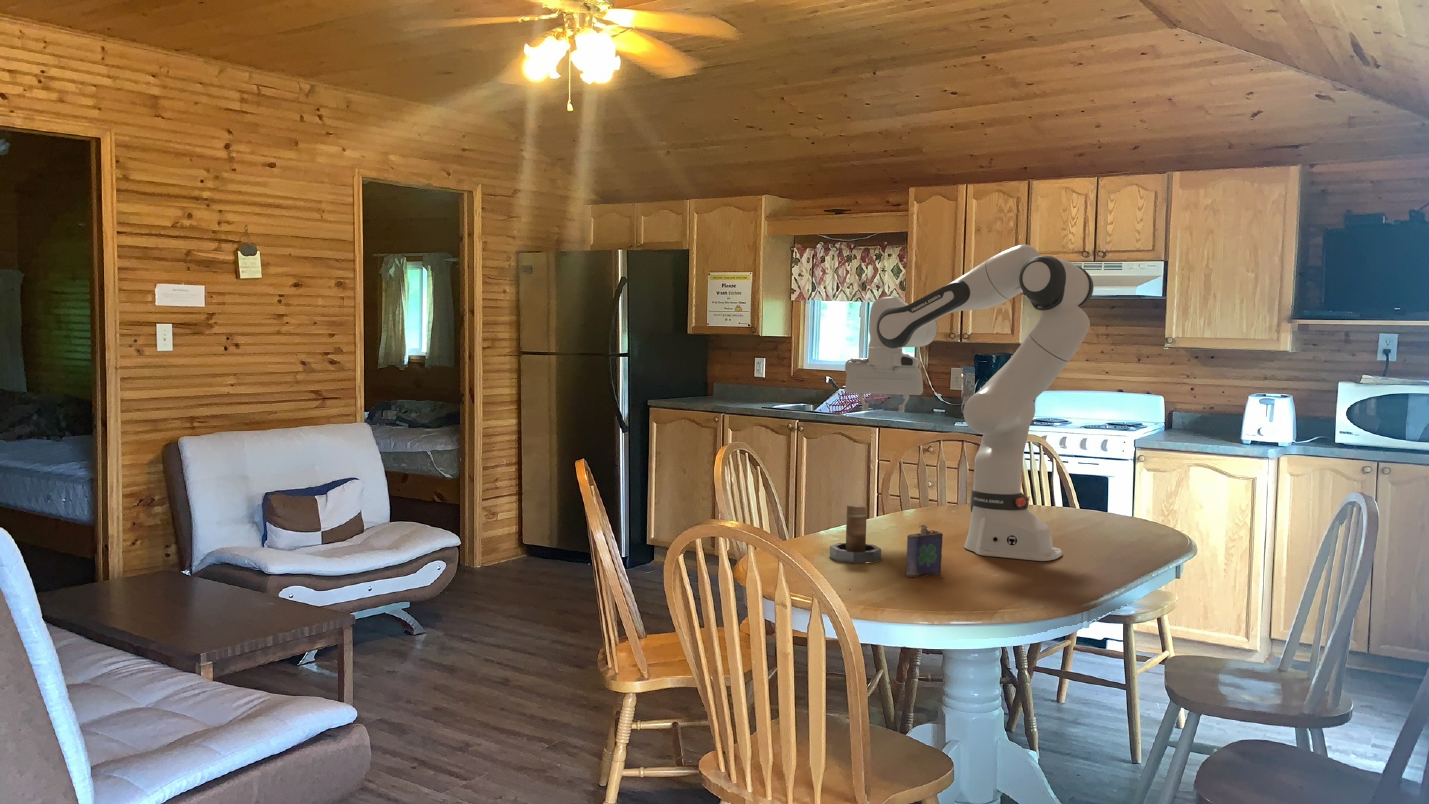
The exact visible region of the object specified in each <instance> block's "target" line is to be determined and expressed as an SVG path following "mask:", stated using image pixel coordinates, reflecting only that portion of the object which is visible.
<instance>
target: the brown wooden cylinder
mask: <svg viewBox="0 0 1429 804" xmlns="http://www.w3.org/2000/svg"><path fill="white" fill-rule="evenodd" d="M867 511H868V507H867V506H866V505H863V504H847V505H846V521H845V523H846V524H845V525H846V527H845V543H846V550H849V551H865V547H866V544H867V543H866V541H867V516H868V513H867Z"/></svg>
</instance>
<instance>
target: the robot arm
mask: <svg viewBox="0 0 1429 804" xmlns="http://www.w3.org/2000/svg"><path fill="white" fill-rule="evenodd" d="M1094 287H1095V286H1094V281H1093V278H1092V277H1091V275H1090V274H1089V273H1088V272H1087V270H1085V268H1082V267H1080V266H1079V265H1076V264H1074V263H1072V262H1070V261H1069V260H1066V259H1062V258H1058V257H1054V256H1051V255H1042V254H1040V252H1039V251H1038V250H1037V249H1036V248H1034V247H1033V246H1032V245H1029V244H1018V245H1015V246H1014V247H1010V248H1008V249H1005V250H1003V251H1001V252H1000V253H998V254H995V255H993V256H991V257H990V258H988V259H986V260H984V261H983V262H981V263H980V264H978V265H977V266H975V267H974V268H972V269H970V270H969V271H967V272H966V273H963V275H961V276H960V277H958V278H956V279H954V280H953V281H951V282H950V283H948V284H946V285H943V286H942V287H939V288H938V289H936V290H934V291H931V292H930V293H928V294H926V295H924V296H923V297H921V298H919V299H917V300H915V301H913V302H911V303H907V302H905V301H904V300H903V299H902V297H901V296H883V297H880V298H877V299H876V300H874V301H873V302H872V305H871V307H870V313H869V319H868V320H869V321H868V327H869V328H868V332H869V343H868V351H867V352H868V353H867V358H866V357H865V358H863V357H862V358H861V357H860V358H856V357H852V358H850V359H848V360H847V361H846V362H845V364H844V373H845V374H846V378H845V388H844V389H845V391H846V392H847V393H850V394H858V400H859V401H860V404H862V405H861V408H862V411H863V412H864V411H866V412H868V411H869V403H866V402H865V400H864V398H865V394H869V395H870V394H875V395H876V394H878V395H900V396H901V395H902V396H903V397H902V398H903V399H904V401H903V403H902V404H899V405H898V413H905V408H906V407H905V406H906V405H907V403H908V401H909V400H910V396H921V395H922V394H923V392H924V383H923V382H924V381H923V374H922V370H921V369H920V368H919V364H920V360H919V358H917V357H915V356H913V355H912V356H911V355H910V354H908V353H907V354H906V353H903V348H922V347H925V346H928V345H930V344H932V342H933V341H934V340H935V339H936V337H937V335H938V334H937V333H938V323H937V320H938V319H940V318H942V317H944V316H946V315H949V314H951V313H957V312H963V311H981V310H988V309H992V308H994V307H997V306H999V305H1001V304H1004V303H1007V301H1008V302H1009V300H1011V299H1013V298H1015V297H1016V296H1018V295H1019V294H1022V293H1023V294H1024V295H1025V297H1026V298H1028V300H1029V302H1030V303H1031V305H1032V306H1033V308H1034V309H1035V310H1036V311H1041V315H1040V318H1039V320H1038V321H1037V323H1036V325H1035V326H1034V327H1033V328H1032V330H1031V331H1030V332H1029V334H1028V335H1027V336H1026V337H1025V338H1024V340H1023V342H1022V343H1021V344H1020V345H1019V347H1018V348H1017V349H1016V351H1015V352H1014V353H1013V354H1012V356H1011V357H1010V359H1008V361H1007V362H1006V363H1005V364H1003V366H1002V367H1001V368H1000V369H998V370H997V371H996V373H994V374H993V375H992V376H991V377H990V378H989V380H988V381H986V383H984V384H983V385H982V387H981V388H980V389H979V390H978V391H976V393H974V394H973V395H971V396H970V397H969V398H968V399H967V401H966V402H965V404H964V407H963V418H964V421H965V423H966V425H967V426H968V427H969V428H970V429H971V430H972V431H974V432H976V433H978V434H980V435H982V437H981V442H980V445H979V448H978V450H977V452H976V454H975V457H974V460H973V461H974V465H973V466H974V467H973V489H971V494H970V512H971V516H970V523H969V527H968V528H969V529H968V532H967V537H966V540H965V542H964V548H965V549H967V550H969V551H971V552H973V553H975V554H977V555H979V556H985V557H996V558H997V557H998V558H1006V559H1007V558H1008V559H1018V560H1027V561H1037V562H1046V561H1047V562H1049V561H1053V560H1056V559H1059V558H1060V557H1062V555H1063V554H1062V553H1063V552H1062V550H1061V548H1059V547H1054V546H1053V537H1052V532H1051V529H1050V527H1049V526H1048V525H1047V524H1046V523H1044V522H1043V521H1042V519H1040V518H1039V517H1038V516H1036V514H1034V513H1033V512H1032V511H1030V509H1029V502H1030V501H1031V499H1030V498H1031V496H1030V495H1029V496H1027V495H1025V494H1024V493H1022V492H1021V491H1022V490H1021V487H1022V472H1023V470H1022V469H1023V459H1024V453H1025V449H1026V444H1027V440H1028V437H1029V432H1030V426H1031V423H1032V421H1033V420H1034V417H1035V415H1036V405H1035V402H1034V401H1035V400H1036V399H1037V398H1038V397H1039V396H1040V395H1041V394H1043V392H1045V391H1046V390H1048V389H1049V388H1050V386H1051V385H1052V384H1053V383H1054V381H1055V380H1056V379H1057V378H1058V377H1059V375H1060V374H1061V373H1062V372H1063V370H1064V369H1065V367H1066V366H1067V365H1068V364H1069V362H1070V361H1071V360H1072V358H1073V357H1074V356H1075V354H1076V353H1077V351H1078V350H1079V348H1080V347H1081V345H1082V343H1083V341H1084V340H1085V338H1086V336H1087V334H1088V332H1089V330H1090V326H1091V321H1090V318H1089V317H1088V315H1087V313H1086V312H1085V311H1084V310H1083V309H1082V307H1084V306H1085V305H1086V304H1087V303H1088V302H1089V301H1090V299H1091V298H1092V295H1093V294H1094V289H1095V288H1094Z"/></svg>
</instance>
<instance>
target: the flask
mask: <svg viewBox="0 0 1429 804" xmlns="http://www.w3.org/2000/svg"><path fill="white" fill-rule="evenodd" d="M919 528H921V529H920V533H912V534H908V535H907V540H906V541H907V544H906V547H907V548H906V567H905V569H906V570H905V575H906V578H910V577H911V578H921V577H924V578H925V577H928V576H936V575H939V576H940V575H941V573H942V572H941V571H942V570H941V569H942V554H943V553H942V552H943V551H942V549H943V536H944V535H943V533H942V532H940V531H937V530H933V529H932V530H928V529H927V528H928V526H927V525H925V524H921V525H920V526H919Z"/></svg>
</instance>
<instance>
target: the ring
mask: <svg viewBox="0 0 1429 804" xmlns="http://www.w3.org/2000/svg"><path fill="white" fill-rule="evenodd" d="M829 557H830V559H833V560H834V561H836V562H841V563H847V562H849V564H867V563H866V562H874V563H877V562H879V561H881V560H882V548H881V547H879V546H877V545H875V544H870V543H866V547H865V551H849V550H846V542H837V543H834V544H831V545H830V546H829ZM880 559H881V560H880ZM878 560H879V561H878ZM876 561H877V562H876Z"/></svg>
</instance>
